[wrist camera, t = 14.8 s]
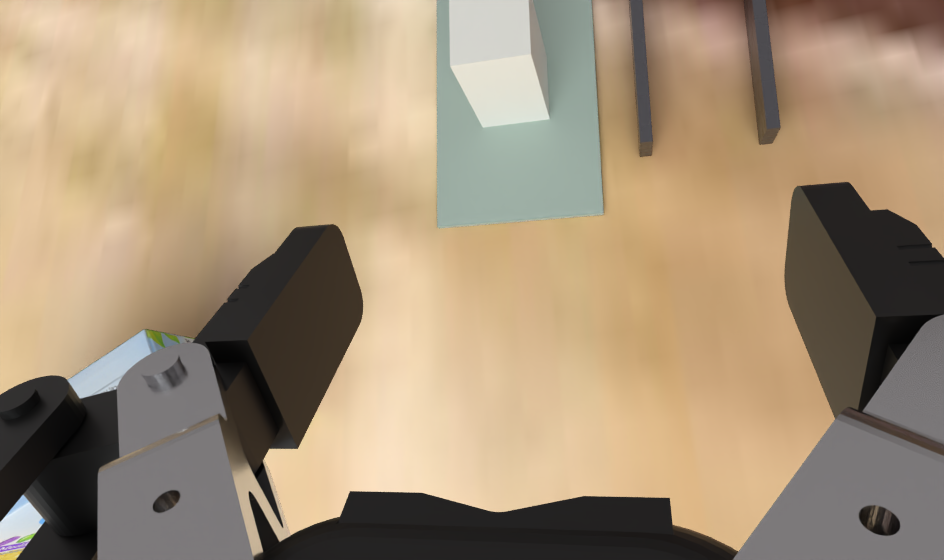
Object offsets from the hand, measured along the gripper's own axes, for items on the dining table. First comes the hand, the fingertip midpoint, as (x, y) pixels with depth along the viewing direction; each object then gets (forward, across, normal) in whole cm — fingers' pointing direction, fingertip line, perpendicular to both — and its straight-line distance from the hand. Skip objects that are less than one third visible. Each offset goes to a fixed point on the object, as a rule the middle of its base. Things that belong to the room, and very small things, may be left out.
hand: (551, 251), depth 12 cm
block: (+37, +6, +8) cm, 39 cm away
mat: (+38, +6, +9) cm, 39 cm away
